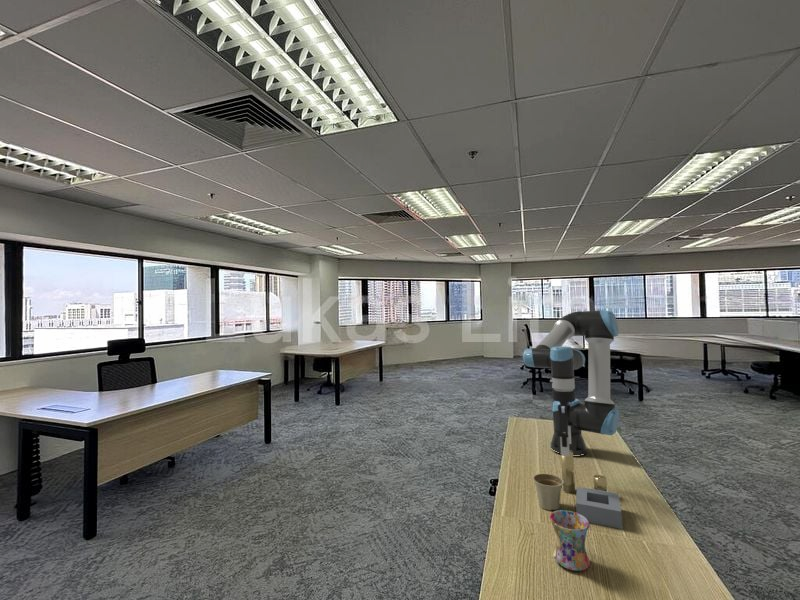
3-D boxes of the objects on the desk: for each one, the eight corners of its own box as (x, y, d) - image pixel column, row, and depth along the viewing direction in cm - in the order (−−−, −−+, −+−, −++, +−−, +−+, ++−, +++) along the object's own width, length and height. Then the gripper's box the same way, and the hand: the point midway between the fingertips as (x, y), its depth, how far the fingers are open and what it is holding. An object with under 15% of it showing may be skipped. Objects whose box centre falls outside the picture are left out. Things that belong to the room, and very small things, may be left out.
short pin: (594, 491, 128) (593, 474, 129) (607, 493, 127) (606, 476, 127) (594, 496, 125) (593, 478, 125) (607, 498, 123) (606, 480, 123)
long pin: (563, 487, 132) (561, 448, 133) (575, 489, 130) (573, 449, 131) (562, 492, 129) (560, 452, 129) (575, 494, 127) (572, 453, 127)
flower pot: (563, 500, 123) (562, 474, 123) (566, 515, 114) (564, 487, 114) (533, 497, 126) (532, 472, 126) (534, 511, 117) (533, 484, 117)
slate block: (577, 501, 122) (577, 486, 122) (619, 509, 116) (618, 493, 117) (576, 519, 111) (575, 503, 112) (622, 529, 106) (621, 511, 106)
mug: (596, 577, 87) (593, 532, 88) (555, 572, 89) (552, 527, 90) (584, 546, 99) (581, 506, 99) (547, 542, 101) (545, 503, 101)
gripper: (554, 383, 144) (557, 437, 143) (548, 395, 122) (551, 459, 121) (575, 384, 140) (578, 440, 139) (573, 397, 118) (576, 463, 117)
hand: (566, 449), depth 130 cm, fingers open, 13 cm apart
